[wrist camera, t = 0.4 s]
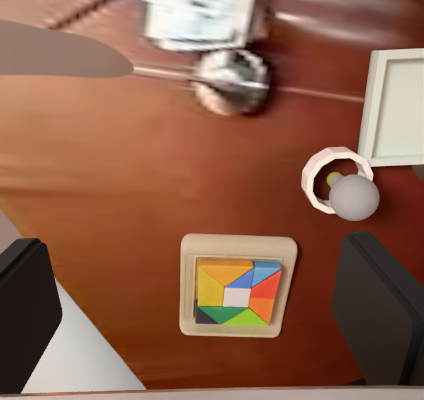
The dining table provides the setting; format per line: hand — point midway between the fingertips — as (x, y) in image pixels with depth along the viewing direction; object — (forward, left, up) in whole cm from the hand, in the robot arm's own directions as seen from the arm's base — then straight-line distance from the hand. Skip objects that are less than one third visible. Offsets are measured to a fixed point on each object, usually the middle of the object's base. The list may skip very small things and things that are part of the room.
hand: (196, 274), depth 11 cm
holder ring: (+10, +17, -35) cm, 40 cm away
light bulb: (+10, +17, -35) cm, 40 cm away
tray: (+1, +27, -35) cm, 44 cm away
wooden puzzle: (+28, +3, -35) cm, 45 cm away
